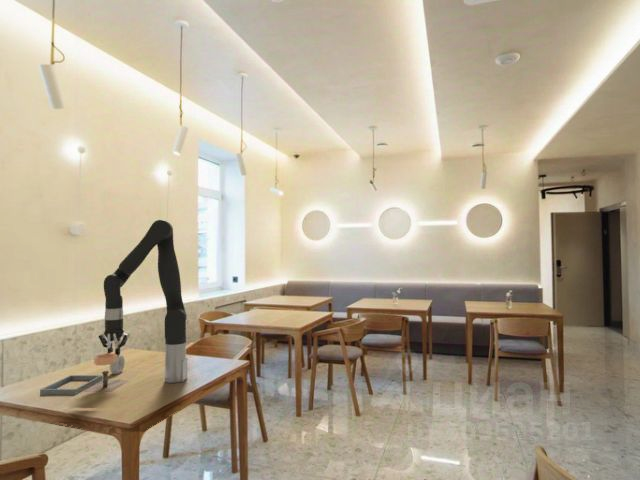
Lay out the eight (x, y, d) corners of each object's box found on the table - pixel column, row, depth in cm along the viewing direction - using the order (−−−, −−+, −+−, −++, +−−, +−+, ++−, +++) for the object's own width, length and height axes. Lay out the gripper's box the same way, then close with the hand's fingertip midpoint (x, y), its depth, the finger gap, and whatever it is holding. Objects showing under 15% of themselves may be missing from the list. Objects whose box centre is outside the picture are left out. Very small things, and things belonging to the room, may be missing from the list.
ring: (125, 357, 187) (125, 351, 187) (110, 365, 174) (110, 358, 174) (106, 357, 187) (106, 351, 187) (90, 365, 174) (90, 358, 174)
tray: (102, 381, 188) (102, 375, 188) (75, 396, 168) (76, 389, 168) (70, 381, 188) (70, 375, 188) (39, 396, 168) (40, 389, 168)
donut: (115, 377, 195) (115, 356, 195) (108, 377, 195) (108, 356, 195) (126, 371, 205) (126, 351, 205) (119, 371, 205) (119, 351, 205)
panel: (129, 382, 187) (130, 365, 188) (111, 393, 171) (111, 375, 172) (104, 382, 188) (104, 365, 188) (83, 393, 172) (83, 376, 172)
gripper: (133, 316, 189) (133, 354, 189) (103, 317, 189) (103, 354, 189) (125, 319, 182) (125, 358, 181) (94, 319, 182) (94, 358, 181)
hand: (113, 356), depth 185 cm, fingers closed on ring, 2 cm apart
